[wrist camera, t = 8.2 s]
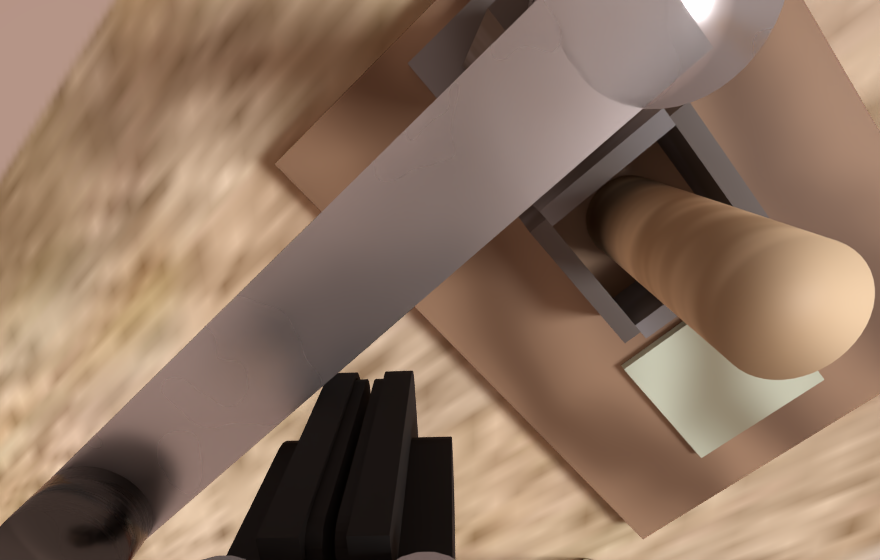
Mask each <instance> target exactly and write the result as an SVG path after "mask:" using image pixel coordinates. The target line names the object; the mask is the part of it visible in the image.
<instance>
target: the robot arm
mask: <svg viewBox="0 0 880 560" xmlns="http://www.w3.org/2000/svg"><path fill="white" fill-rule="evenodd" d="M203 560H455V511H454V476H453V451H452V437H419V438H418V427H417V413H416V398H415V384H414V374H413V371H390V372H385V374H384V379H375V380H374V384H373V387H372V391H371V393H370V385H369V381H368V379H364V380H360V377H359V374H358V373H337V374H336V375H335V376H334V377H333V378H331V379H330V380H329V381H328V382H327V383H326V384H325V385H324V386H323V388H322V390H321V393H320V395H319V397H318V399H317V402H316V404H315V406H314V408H313V410H312V413H311V415H310V417H309V419H308V422H307V424H306V426H305V428H304V431H303V433H302V435H301V437H300V440H299V441H286V442H284V443H283V444H282V445H281V447H280V448H279V450H278V452H277V454H276V456H275V458H274V460H273V462H272V464H271V466H270V468H269V470H268V472H267V474H266V476H265V479H264V481H263V483H262V485H261V487H260V489H259V491H258V493H257V495H256V497H255V499H254V501H253V503H252V505H251V507H250V509H249V511H248V513H247V515H246V517H245V519H244V521H243V523H242V525H241V527H240V529H239V531H238V533H237V535H236V537H235V539H234V541H233V543H232V545H231V547H230V549H229V551H228V553H227V555H226V556H214V557H211V558H207V559H203Z"/></svg>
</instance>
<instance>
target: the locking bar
mask: <svg viewBox="0 0 880 560" xmlns="http://www.w3.org/2000/svg"><path fill="white" fill-rule="evenodd" d="M783 4H784V0H529V6H528V9H527V10H526V11H525V12H524V13H523V14H522V15H521V16H520V17H519V18H518V19H517V20H516V21H515V22H514V23H513V24H512V25H511V26H510V27H509V28H508V29H507V30H506V31H505V32H504V33H503V34H502V35H501V36H500V37H499V38H498V39H497V40H496V41H495V42H494V43H493V44H492V45H491V46H490V47H489V48H488V49H487V50H486V51H485V52H484V53H483V54H482V55H481V56H480V57H478V58H477V59H476V60H475V61H474V62H473V63H472V64H471V65H470V66H469V67H468V68H467V69H466V70H465V71H464V72H463V73H462V74H461V75H460V76H459V77H458V78H457V79H456V80H455V81H454V82H453V83H452V84H451V85H450V86H449V87H448V88H447V89H446V90H445V91H444V92H443V93H442V94H441V95H440V96H439V97H438V98H437V99H436V100H435V101H434V102H433V103H432V104H431V105H430V106H429V107H428V108H427V109H426V110H425V111H424V112H423V113H422V114H421V115H420V116H419V117H418V118H417V119H415V120H414V121H413V122H412V123H411V124H410V125H409V126H408V127H407V128H406V129H405V130H404V131H403V132H402V133H401V134H400V135H399V136H398V137H397V138H396V139H395V140H394V141H393V142H392V143H391V144H390V145H389V146H388V147H387V148H386V149H385V150H384V151H383V152H382V153H381V154H380V155H379V156H378V157H377V158H376V159H375V160H374V161H373V162H372V163H371V164H370V165H369V166H368V167H367V168H366V169H365V170H364V171H363V172H362V173H361V174H360V175H359V176H358V177H357V178H356V179H355V180H354V181H353V182H351V183H350V184H349V185H348V186H347V187H346V188H345V189H344V190H343V191H342V192H341V193H340V194H339V195H338V196H337V197H336V198H335V199H334V200H333V201H332V202H331V203H330V204H329V205H328V206H327V207H326V208H325V209H324V210H323V211H322V212H321V213H320V214H319V215H318V216H317V217H316V218H315V219H314V220H313V221H312V222H311V223H310V224H309V225H308V226H307V227H306V228H305V229H304V230H303V231H302V232H301V233H300V234H299V235H298V236H297V237H296V238H295V239H294V240H293V241H292V242H291V243H290V244H288V245H287V246H286V247H285V248H284V249H283V250H282V251H281V252H280V253H279V254H278V255H277V256H276V257H275V258H274V259H273V260H272V261H271V262H270V263H269V264H268V265H267V266H266V267H265V268H264V269H263V270H262V271H261V272H260V273H259V274H258V275H257V276H256V277H255V278H254V279H253V280H252V281H251V282H250V283H249V284H248V285H247V286H246V287H245V288H244V289H243V290H242V291H241V292H240V293H239V294H238V295H237V296H236V297H235V298H234V299H233V300H232V301H231V302H230V303H229V304H228V305H227V306H226V307H224V308H223V309H222V310H221V311H220V312H219V313H218V314H217V315H216V316H215V317H214V318H213V319H212V320H211V321H210V322H209V323H208V324H207V325H206V326H205V327H204V328H203V329H202V330H201V331H200V332H199V333H198V334H197V335H196V336H195V337H194V338H193V339H192V340H191V341H190V342H189V343H188V344H187V345H186V346H185V347H184V348H183V349H182V350H181V351H180V352H179V353H178V354H177V355H176V356H175V357H174V358H173V359H172V360H171V361H170V362H169V363H168V364H167V365H166V366H165V367H164V368H163V369H162V370H160V371H159V372H158V373H157V374H156V375H155V376H154V377H153V378H152V379H151V380H150V381H149V382H148V383H147V384H146V385H145V386H144V387H143V388H142V389H141V390H140V391H139V392H138V393H137V394H136V395H135V396H134V397H133V398H132V399H131V400H130V401H129V402H128V403H127V404H126V405H125V406H124V407H123V408H122V409H121V410H120V411H119V412H118V413H117V414H116V415H115V416H114V417H113V418H112V419H111V420H110V421H109V422H108V423H107V424H106V425H105V426H104V427H103V428H102V429H101V430H100V431H99V432H97V433H96V434H95V435H94V436H93V437H92V438H91V439H90V440H89V441H88V442H87V443H86V444H85V445H84V446H83V447H82V448H81V449H80V450H79V451H78V452H77V453H76V454H75V455H74V456H73V457H72V458H71V459H70V460H69V461H68V462H67V463H66V464H65V465H64V466H63V467H62V468H61V469H60V470H59V471H58V472H57V473H56V474H55V475H54V476H53V477H52V478H51V479H50V480H49V481H48V482H46V483H45V484H44V485H43V486H42V487H41V488H40V489H39V490H38V491H37V492H36V493H35V494H34V495H33V496H32V497H31V498H29V499H28V500H27V501H26V502H25V503H24V504H23V505H22V506H21V507H20V508H19V509H18V510H17V511H16V512H15V513H13V514H12V515H11V516H10V517H9V518H8V519H7V520H6V521H5V522H4V523H3V524H2V525H1V526H0V560H132V558H133V557H134V556H135V554H136V553H137V551H138V550H139V548H140V547H141V545H142V544H143V543H144V541H145V540H146V539H147V538H148V537H149V536H150V535H152V534H153V533H154V532H155V531H156V530H157V529H158V528H160V527H161V526H162V525H163V524H164V523H165V522H167V521H168V520H169V519H170V518H171V517H172V516H173V515H175V514H176V513H177V512H178V511H179V510H180V509H182V508H183V507H184V506H185V505H186V504H187V503H188V502H190V501H191V500H192V499H193V498H194V497H195V496H197V495H198V494H199V493H200V492H201V491H202V490H203V489H205V488H206V487H207V486H208V485H209V484H210V483H211V482H213V481H214V480H215V479H216V478H217V477H218V476H220V475H221V474H222V473H223V472H224V471H225V470H226V469H228V468H229V467H230V466H231V465H232V464H233V463H235V462H236V461H237V460H238V459H239V458H240V457H241V456H243V455H244V454H245V453H246V452H247V451H248V450H250V449H251V448H252V447H253V446H254V445H255V444H256V443H258V442H259V441H260V440H261V439H262V438H263V437H265V436H266V435H267V434H268V433H269V432H270V431H271V430H273V429H274V428H275V427H276V426H277V425H278V424H280V423H281V422H282V421H283V420H284V419H285V418H286V417H288V416H289V415H290V414H291V413H292V412H293V411H295V410H296V409H297V408H298V407H299V406H300V405H301V404H303V403H304V402H305V401H306V400H307V399H308V398H310V397H311V396H312V395H313V394H314V393H315V392H316V391H318V390H319V389H320V388H321V387H322V386H323V385H325V384H326V383H327V382H328V381H329V380H330V379H331V378H333V377H334V376H335V375H336V374H337V373H338V372H340V371H341V370H342V369H343V368H344V367H345V366H346V365H348V364H349V363H350V362H351V361H352V360H353V359H355V358H356V357H357V356H358V355H359V354H360V353H361V352H363V351H364V350H365V349H366V348H367V347H368V346H370V345H371V344H372V343H373V342H374V341H375V340H376V339H378V338H379V337H380V336H381V335H382V334H383V333H385V332H386V331H387V330H388V329H389V328H390V327H391V326H393V325H394V324H395V323H396V322H397V321H398V320H400V319H401V318H402V317H403V316H404V315H405V314H406V313H408V312H409V311H410V310H411V309H412V308H413V307H415V306H416V305H417V304H418V303H419V302H420V301H421V300H423V299H424V298H425V297H426V296H427V295H428V294H430V293H431V292H432V291H433V290H434V289H435V288H436V287H438V286H439V285H440V284H441V283H442V282H443V281H445V280H446V279H447V278H448V277H449V276H450V275H451V274H453V273H454V272H455V271H456V270H457V269H458V268H460V267H461V266H462V265H463V264H464V263H465V262H466V261H468V260H469V259H470V258H471V257H472V256H473V255H475V254H476V253H477V252H478V251H479V250H480V249H481V248H483V247H484V246H485V245H486V244H487V243H488V242H490V241H491V240H492V239H493V238H494V237H495V236H496V235H498V234H499V233H500V232H501V231H502V230H503V229H505V228H506V227H507V226H508V225H509V224H510V223H511V222H513V221H514V220H515V219H516V218H517V217H518V216H520V215H521V214H522V213H523V212H524V211H525V210H526V209H528V208H529V207H530V206H531V205H532V204H533V203H535V202H536V201H537V200H538V199H539V198H540V197H541V196H543V195H544V194H545V193H546V192H547V191H548V190H550V189H551V188H552V187H553V186H554V185H555V184H556V183H558V182H559V181H560V180H561V179H562V178H563V177H565V176H566V175H567V174H568V173H569V172H570V171H571V170H573V169H574V168H575V167H576V166H577V165H578V164H580V163H581V162H582V161H583V160H584V159H585V158H586V157H588V156H589V155H590V154H591V153H592V152H593V151H595V150H596V149H597V148H598V147H599V146H600V145H601V144H603V143H604V142H605V141H606V140H607V139H608V138H610V137H611V136H612V135H613V134H614V133H615V132H616V131H618V130H619V129H620V128H621V127H622V126H623V125H625V124H626V123H627V122H628V121H629V120H630V119H631V118H633V117H634V116H635V115H636V114H637V113H638V112H640V111H641V110H642V109H664V108H671V107H677V106H681V105H684V104H687V103H691V102H694V101H696V100H698V99H700V98H703V97H705V96H707V95H709V94H711V93H712V92H714V91H716V90H717V89H719V88H721V87H722V86H723V85H725V84H726V83H727V82H729V81H730V80H731V79H733V78H734V77H735V76H736V75H737V74H738V73H739V72H740V71H741V70H742V69H744V68H745V67H746V66H747V64H748V63H749V62H750V61H751V60H752V59H753V57H754V56H755V55H756V54H757V53H758V51H759V50H760V48H761V47H762V46H763V44H764V43H765V41H766V40H767V38H768V36H769V35H770V33H771V31H772V29H773V27H774V25H775V24H776V21H777V19H778V17H779V14H780V12H781V9H782V7H783Z"/></svg>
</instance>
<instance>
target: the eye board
mask: <svg viewBox="0 0 880 560" xmlns="http://www.w3.org/2000/svg"><path fill="white" fill-rule="evenodd" d="M528 6H529V0H436V1H435V2H434V3H433V4H432V5H431V6H430V7H429V8H428V9H427V10H426V11H425V12H424V13H423V14H422V15H421V16H420V17H419V18H418V19H417V20H416V21H415V22H414V23H413V24H412V25H411V26H410V27H409V28H408V29H407V30H406V31H405V32H404V33H403V34H402V35H401V36H400V37H399V38H398V39H397V40H396V41H395V42H394V43H393V44H392V45H391V46H390V47H389V48H388V49H387V50H386V51H385V52H384V53H383V54H382V55H381V56H380V58H379V59H378V60H377V61H376V62H375V63H374V64H373V65H372V66H371V67H370V68H369V69H368V70H367V71H366V72H365V73H364V74H363V75H362V76H361V77H360V78H359V79H358V80H357V81H356V82H355V83H354V84H353V85H352V86H351V87H350V88H349V89H348V90H347V91H346V92H345V93H344V94H343V95H342V96H341V97H340V98H339V99H338V100H337V101H336V102H335V103H334V104H333V105H332V106H331V107H330V108H329V109H328V110H327V111H326V112H325V113H324V114H323V115H322V117H321V118H320V119H319V120H318V121H317V122H316V123H315V124H314V125H313V126H312V127H311V128H310V129H309V130H308V131H307V132H306V133H305V134H304V135H303V136H302V137H301V138H300V139H299V140H298V141H297V142H296V143H295V144H294V145H293V146H292V147H291V148H290V149H289V150H288V151H287V152H286V153H285V154H284V155H283V156H282V157H281V158H280V159H279V160H278V161H277V162H276V163H275V165H276V166H277V167H278V168H279V169H280V170H281V171H282V172H283V173H284V174H285V175H286V176H287V177H288V178H289V179H290V180H291V181H292V182H293V183H294V184H295V185H296V187H297V188H298V189H299V190H300V191H301V192H302V193H303V194H304V195H305V196H306V197H307V198H308V199H309V200H310V201H311V202H312V203H313V204H314V205H315V206H316V207H317V208H318V209H319V210H320V211H321V212H322V211H323V210H324V209H325V208H326V207H327V206H328V205H329V204H330V203H331V202H332V201H333V200H334V199H335V198H336V197H337V196H338V195H339V194H340V193H341V192H342V191H343V190H344V189H345V188H346V187H347V186H348V185H349V184H350V183H351V182H353V181H354V180H355V179H356V178H357V177H358V176H359V175H360V174H361V173H362V172H363V171H364V170H365V169H366V168H367V167H368V166H369V165H370V164H371V163H372V162H373V161H374V160H375V159H376V158H377V157H378V156H379V155H380V154H381V153H382V152H383V151H384V150H385V149H386V148H387V147H388V146H389V145H390V144H391V143H392V142H393V141H394V140H395V139H396V138H397V137H398V136H399V135H400V134H401V133H402V132H403V131H404V130H405V129H406V128H407V127H408V126H409V125H410V124H411V123H412V122H413V121H414V120H415V119H417V118H418V117H419V116H420V115H421V114H422V113H423V112H424V111H425V110H426V109H427V108H428V107H429V106H430V105H431V104H432V103H433V102H434V101H435V100H436V99H437V98H438V97H439V96H440V95H441V94H442V93H443V92H444V91H445V90H446V89H447V88H448V87H449V86H450V85H451V84H452V83H453V82H454V81H455V80H456V79H457V78H458V77H459V76H460V75H461V74H462V73H463V72H464V71H465V70H466V69H467V68H468V67H469V66H470V65H471V64H472V63H473V62H474V61H475V60H476V59H477V58H478V57H480V56H481V55H482V54H483V53H484V52H485V51H486V50H487V49H488V48H489V47H490V46H491V45H492V44H493V43H494V42H495V41H496V40H497V39H498V38H499V37H500V36H501V35H502V34H503V33H504V32H505V31H506V30H507V29H508V28H509V27H510V26H511V25H512V24H513V23H514V22H515V21H516V20H517V19H518V18H519V17H520V16H521V15H522V14H523V13H524V12H525V11H526V10H527V9H528ZM628 175H635V176H641V177H645V178H648V179H651V180H654V181H657V182H660V183H663V184H666V185H669V186H672V187H675V188H678V189H681V190H684V191H687V192H690V193H693V194H696V195H699V196H702V197H705V198H708V199H711V200H715V201H718V202H721V203H724V204H727V205H730V206H733V207H736V208H739V209H742V210H745V211H748V212H751V213H754V214H757V215H760V216H763V217H766V218H769V219H772V220H775V221H778V222H781V223H784V224H787V225H790V226H794V227H797V228H800V229H803V230H806V231H809V232H812V233H815V234H818V235H821V236H824V237H827V238H830V239H833V240H836V241H839V242H841V243H843V244H846V245H848V246H849V247H851V248H852V249H854V250H855V251H856V252H857V253H858V254H860V255H861V256H862V258H863V259H864V260H865V262H866V263H867V265H868V267H869V268H870V270H871V273H872V276H873V279H874V286H875V299H874V306H873V310H872V313H871V316H870V319H869V321H868V323H867V325H866V327H865V329H864V330H863V332H862V334H861V335H860V337H859V338H858V339H857V341H856V342H855V343H854V344H853V345H852V346H851V347H850V348H849V350H848V351H846V352H845V353H844V354H843V355H842V356H841V357H840V358H838V359H837V360H835V361H834V362H833V363H831V364H829V365H828V366H826V367H824V368H822V369H820V370H818V371H816V372H814V373H811V374H808V375H805V376H802V377H798V378H794V379H786V380H769V379H762V378H758V377H754V376H752V375H749V374H746V373H745V372H743V371H741V370H739V369H738V368H737V367H735V366H734V365H733V364H732V363H731V362H729V361H728V360H727V359H726V358H725V357H724V356H723V355H721V354H720V353H719V352H718V351H717V350H716V349H715V348H713V347H712V346H711V345H710V344H709V343H708V342H707V341H705V340H704V339H703V338H702V337H701V336H700V335H699V334H697V333H696V332H695V331H694V330H693V329H692V328H690V327H689V326H688V325H687V324H686V323H685V322H684V321H682V320H681V319H680V318H679V317H678V316H677V315H676V314H674V313H673V312H672V311H671V310H670V309H669V308H668V307H666V306H665V305H664V304H663V303H662V302H661V301H660V300H658V299H657V298H656V297H655V296H654V295H653V294H652V293H650V292H649V291H648V290H647V289H646V288H645V287H643V286H642V285H641V284H640V283H639V282H638V281H637V280H635V279H634V278H633V277H632V276H631V275H630V274H629V273H627V272H626V271H625V270H624V269H623V268H622V267H621V266H619V265H618V264H617V263H616V262H615V261H614V260H613V259H611V258H610V257H609V256H608V255H607V254H606V253H605V252H603V251H602V250H601V249H600V248H599V247H598V246H597V245H596V244H595V243H594V242H593V241H592V239H591V238H590V236H589V233H588V230H587V226H586V214H587V209H588V206H589V204H590V202H591V200H592V198H593V197H594V195H595V194H596V192H597V191H598V190H599V189H600V188H601V187H602V186H604V185H605V184H606V183H608V182H610V181H611V180H613V179H616V178H619V177H622V176H628ZM415 308H416V309H417V310H418V311H419V312H420V313H421V314H422V315H423V316H424V317H425V318H426V319H427V320H428V321H429V322H430V323H431V324H432V325H433V326H434V327H435V328H436V329H437V330H438V331H439V332H440V333H441V334H442V335H443V336H444V337H445V338H446V339H447V340H448V341H449V342H450V343H451V344H452V345H453V346H454V347H455V348H456V349H457V350H458V351H459V352H460V353H461V355H462V356H463V357H464V358H465V359H466V360H467V361H468V362H469V363H470V364H471V365H472V366H473V367H474V368H475V369H476V370H477V371H478V372H479V373H480V374H481V375H482V376H483V377H484V378H485V379H486V380H487V381H488V382H489V383H490V384H491V385H492V386H493V387H494V388H495V389H496V390H497V391H498V392H499V393H500V394H501V395H502V396H503V397H504V398H505V399H506V400H507V401H508V402H509V403H510V404H511V405H512V406H513V407H514V408H515V409H516V411H517V412H518V413H519V414H520V415H521V416H522V417H523V418H524V419H525V420H526V421H527V422H528V423H529V424H530V425H531V426H532V427H533V428H534V429H535V430H536V431H537V432H538V433H539V434H540V435H541V436H542V437H543V438H544V439H545V440H546V441H547V442H548V443H549V444H550V445H551V446H552V447H553V448H554V449H555V450H556V451H557V452H558V453H559V454H560V455H561V456H562V457H563V458H564V459H565V460H566V461H567V462H568V463H569V464H570V465H571V466H572V468H573V469H574V470H575V471H576V472H577V473H578V474H579V475H580V476H581V477H582V478H583V479H584V480H585V481H586V482H587V483H588V484H589V485H590V486H591V487H592V488H593V489H594V490H595V491H596V492H597V493H598V494H599V495H600V496H601V497H602V498H603V499H604V500H605V501H606V502H607V503H608V504H609V505H610V506H611V507H612V508H613V509H614V510H615V511H616V512H617V513H618V514H619V515H620V516H621V517H622V518H623V519H624V520H625V521H626V522H627V524H628V525H629V526H630V527H631V528H632V529H633V530H634V531H635V532H636V533H637V534H638V535H639V536H640V537H641V538H642V539H644V538H646V537H647V536H649V535H651V534H652V533H654V532H655V531H657V530H659V529H660V528H662V527H664V526H665V525H667V524H668V523H670V522H672V521H673V520H675V519H677V518H678V517H680V516H682V515H683V514H685V513H686V512H688V511H690V510H691V509H693V508H695V507H696V506H698V505H699V504H701V503H703V502H704V501H706V500H708V499H709V498H711V497H712V496H714V495H716V494H717V493H719V492H721V491H722V490H724V489H726V488H727V487H729V486H730V485H732V484H734V483H735V482H737V481H739V480H740V479H742V478H743V477H745V476H747V475H748V474H750V473H752V472H753V471H755V470H756V469H758V468H760V467H761V466H763V465H765V464H766V463H768V462H770V461H771V460H773V459H774V458H776V457H778V456H779V455H781V454H783V453H784V452H786V451H787V450H789V449H791V448H792V447H794V446H796V445H797V444H799V443H800V442H802V441H804V440H805V439H807V438H809V437H810V436H812V435H814V434H815V433H817V432H818V431H820V430H822V429H823V428H825V427H827V426H828V425H830V424H831V423H833V422H835V421H836V420H838V419H840V418H841V417H843V416H844V415H846V414H848V413H849V412H851V411H853V410H854V409H856V408H858V407H859V406H861V405H862V404H864V403H866V402H867V401H869V400H871V399H872V398H874V397H875V396H877V395H879V394H880V131H879V129H878V128H877V126H876V124H875V122H874V121H873V119H872V117H871V115H870V114H869V112H868V110H867V109H866V107H865V105H864V103H863V102H862V100H861V98H860V97H859V95H858V93H857V91H856V90H855V88H854V86H853V84H852V83H851V81H850V79H849V78H848V76H847V74H846V72H845V71H844V69H843V67H842V66H841V64H840V62H839V60H838V59H837V57H836V55H835V53H834V52H833V50H832V48H831V47H830V45H829V43H828V41H827V40H826V38H825V36H824V35H823V33H822V31H821V29H820V28H819V26H818V24H817V22H816V21H815V19H814V17H813V16H812V14H811V12H810V10H809V9H808V7H807V5H806V4H805V2H804V0H784V4H783V7H782V9H781V12H780V14H779V17H778V19H777V21H776V24H775V25H774V27H773V29H772V31H771V33H770V35H769V36H768V38H767V40H766V41H765V43H764V44H763V46H762V47H761V48H760V50H759V51H758V53H757V54H756V55H755V56H754V57H753V59H752V60H751V61H750V62H749V63H748V64H747V66H746V67H745V68H744V69H742V70H741V71H740V72H739V73H738V74H737V75H736V76H735V77H734V78H733V79H731V80H730V81H729V82H727V83H726V84H725V85H723V86H722V87H721V88H719V89H717V90H716V91H714V92H712V93H711V94H709V95H707V96H705V97H703V98H700V99H698V100H696V101H694V102H691V103H687V104H684V105H681V106H677V107H671V108H664V109H642V110H641V111H640V112H638V113H637V114H636V115H635V116H634V117H633V118H631V119H630V120H629V121H628V122H627V123H626V124H625V125H623V126H622V127H621V128H620V129H619V130H618V131H616V132H615V133H614V134H613V135H612V136H611V137H610V138H608V139H607V140H606V141H605V142H604V143H603V144H601V145H600V146H599V147H598V148H597V149H596V150H595V151H593V152H592V153H591V154H590V155H589V156H588V157H586V158H585V159H584V160H583V161H582V162H581V163H580V164H578V165H577V166H576V167H575V168H574V169H573V170H571V171H570V172H569V173H568V174H567V175H566V176H565V177H563V178H562V179H561V180H560V181H559V182H558V183H556V184H555V185H554V186H553V187H552V188H551V189H550V190H548V191H547V192H546V193H545V194H544V195H543V196H541V197H540V198H539V199H538V200H537V201H536V202H535V203H533V204H532V205H531V206H530V207H529V208H528V209H526V210H525V211H524V212H523V213H522V214H521V215H520V216H518V217H517V218H516V219H515V220H514V221H513V222H511V223H510V224H509V225H508V226H507V227H506V228H505V229H503V230H502V231H501V232H500V233H499V234H498V235H496V236H495V237H494V238H493V239H492V240H491V241H490V242H488V243H487V244H486V245H485V246H484V247H483V248H481V249H480V250H479V251H478V252H477V253H476V254H475V255H473V256H472V257H471V258H470V259H469V260H468V261H466V262H465V263H464V264H463V265H462V266H461V267H460V268H458V269H457V270H456V271H455V272H454V273H453V274H451V275H450V276H449V277H448V278H447V279H446V280H445V281H443V282H442V283H441V284H440V285H439V286H438V287H436V288H435V289H434V290H433V291H432V292H431V293H430V294H428V295H427V296H426V297H425V298H424V299H423V300H421V301H420V302H419V303H418V304H417V305H416V306H415Z"/></svg>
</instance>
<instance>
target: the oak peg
mask: <svg viewBox="0 0 880 560" xmlns="http://www.w3.org/2000/svg"><path fill="white" fill-rule="evenodd" d="M586 226H587V230H588V233H589V236H590V238H591V239H592V241H593V242H594V243H595V244H596V245H597V246H598V247H599V248H600V249H601V250H602V251H603V252H605V253H606V254H607V255H608V256H609V257H610V258H611V259H613V260H614V261H615V262H616V263H617V264H618V265H619V266H621V267H622V268H623V269H624V270H625V271H626V272H627V273H629V274H630V275H631V276H632V277H633V278H634V279H635V280H637V281H638V282H639V283H640V284H641V285H642V286H643V287H645V288H646V289H647V290H648V291H649V292H650V293H652V294H653V295H654V296H655V297H656V298H657V299H658V300H660V301H661V302H662V303H663V304H664V305H665V306H666V307H668V308H669V309H670V310H671V311H672V312H673V313H674V314H676V315H677V316H678V317H679V318H680V319H681V320H682V321H684V322H685V323H686V324H687V325H688V326H689V327H690V328H692V329H693V330H694V331H695V332H696V333H697V334H699V335H700V336H701V337H702V338H703V339H704V340H705V341H707V342H708V343H709V344H710V345H711V346H712V347H713V348H715V349H716V350H717V351H718V352H719V353H720V354H721V355H723V356H724V357H725V358H726V359H727V360H728V361H729V362H731V363H732V364H733V365H734V366H735V367H737V368H738V369H739V370H741V371H743V372H745V373H746V374H749V375H752V376H754V377H758V378H762V379H769V380H786V379H794V378H798V377H802V376H805V375H808V374H811V373H814V372H816V371H818V370H820V369H822V368H824V367H826V366H828V365H829V364H831V363H833V362H834V361H835V360H837V359H838V358H840V357H841V356H842V355H843V354H844V353H845V352H846V351H848V350H849V348H850V347H851V346H852V345H853V344H854V343H855V342H856V341H857V339H858V338H859V337H860V335H861V334H862V332H863V330H864V329H865V327H866V325H867V323H868V321H869V319H870V316H871V313H872V310H873V306H874V299H875V286H874V279H873V276H872V273H871V270H870V268H869V267H868V265H867V263H866V262H865V260H864V259H863V258H862V256H861V255H860V254H858V253H857V252H856V251H855V250H854V249H852V248H851V247H849V246H848V245H846V244H843V243H841V242H839V241H836V240H833V239H830V238H827V237H824V236H821V235H818V234H815V233H812V232H809V231H806V230H803V229H800V228H797V227H794V226H790V225H787V224H784V223H781V222H778V221H775V220H772V219H769V218H766V217H763V216H760V215H757V214H754V213H751V212H748V211H745V210H742V209H739V208H736V207H733V206H730V205H727V204H724V203H721V202H718V201H715V200H711V199H708V198H705V197H702V196H699V195H696V194H693V193H690V192H687V191H684V190H681V189H678V188H675V187H672V186H669V185H666V184H663V183H660V182H657V181H654V180H651V179H648V178H645V177H641V176H635V175H628V176H622V177H619V178H616V179H613V180H611V181H610V182H608V183H606V184H605V185H604V186H602V187H601V188H600V189H599V190H598V191H597V192H596V194H595V195H594V197H593V198H592V200H591V202H590V204H589V206H588V209H587V214H586Z"/></svg>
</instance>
